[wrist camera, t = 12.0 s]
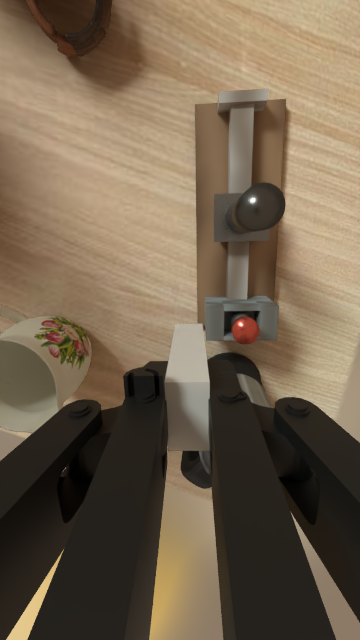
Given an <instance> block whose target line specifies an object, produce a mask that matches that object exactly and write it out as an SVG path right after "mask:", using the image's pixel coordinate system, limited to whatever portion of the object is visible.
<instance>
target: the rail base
mask: <svg viewBox="0 0 360 640" xmlns="http://www.w3.org/2000/svg"><path fill="white" fill-rule="evenodd" d="M285 108H286V99H278V100H268V89H256V90H240V91H224V92H219V97H218V103H211V104H195V131H196V218H197V305H198V324H202V325H203V326H205V331H206V341H222V340H235V339H234V337H233V335H232V332H231V326H232V325H231V322H230V316H231V314H232V313H233V312H234V311H245V312H246V313H247V315H248V316H249V317H251V318H253V319H254V320H255V321H256V323H257V324H258V326H259V329H260V333H259V336H258V338H257V339H256V340H277V326H278V311H279V306H278V305H277V304H276V303H274V287H275V271H276V254H277V238H278V223H277V224H276V225H275V226H273V227H272V228H270V229H269V240H268V241H232V242H214V195H215V194H226V193H245V192H246V191H247V190H248V189H249V188H250V187H251V186H253V185H255V184H257V183H262V182H267V183H271V184H273V185H275V186H277V187H278V188H279V189H281V173H282V156H283V140H284V124H285Z"/></svg>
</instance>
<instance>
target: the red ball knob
mask: <svg viewBox="0 0 360 640" xmlns="http://www.w3.org/2000/svg"><path fill="white" fill-rule="evenodd" d="M230 322H231V325H232V326H231V332H232V335H233V337H234V339H235V340H236V341H237V342H239V343H241V344H250V343H252V342H254V341H255V340H256V339H257V338H258V336H259V333H260V329H259V326H258V324H257V323H256V321H255V320H254V319H253V318H251V317H249V316H248V315H247V313H246V312H245V311H234V312H233V313H232V314H231V316H230Z"/></svg>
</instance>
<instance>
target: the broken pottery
mask: <svg viewBox="0 0 360 640" xmlns="http://www.w3.org/2000/svg"><path fill="white" fill-rule="evenodd" d="M26 2H27V4H28V6H29V8H30V10H31V12H32V14H33V16H34V18H35V19H36V21H37V22H38V24H39V25H40V27H41V28H42V30H43V31H44V32H45V34H46V35H47V36H48V37H49V38H50V39H51V40H53V41H54V42H55V43H57V46H58V51H59V52H61V53H63V54H65V55H67V56H70V57H77V55H78V56H84V55H85V54H87V53H89V52H90V51H92V50H93V49H94V48H95V47H96V46H97V45H98V44H99V43H100V42H101V40H102V39H103V38H104V37H105V34H106V33H105V30H104V29H105V28H107V27H108V26H109V22H110V14H111V5H112V0H96V8H95V12H94V15H93V18H92V20H91V22H90V23H89V24H88V26H87V27H86V28H85V29H84V30H82V31H80V32H78V33H74V34H71V33H66V34H65V36H63V35H61V34H60V33H58V32H57V31H56V30H55V28H54V26H53V25H52V24H51V23H50V22H49V21H48V20H47V19H46V17H45V16H44V15H43V13H42V11H41V10H40V8H39V6H38V3H37V1H36V0H26Z"/></svg>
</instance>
